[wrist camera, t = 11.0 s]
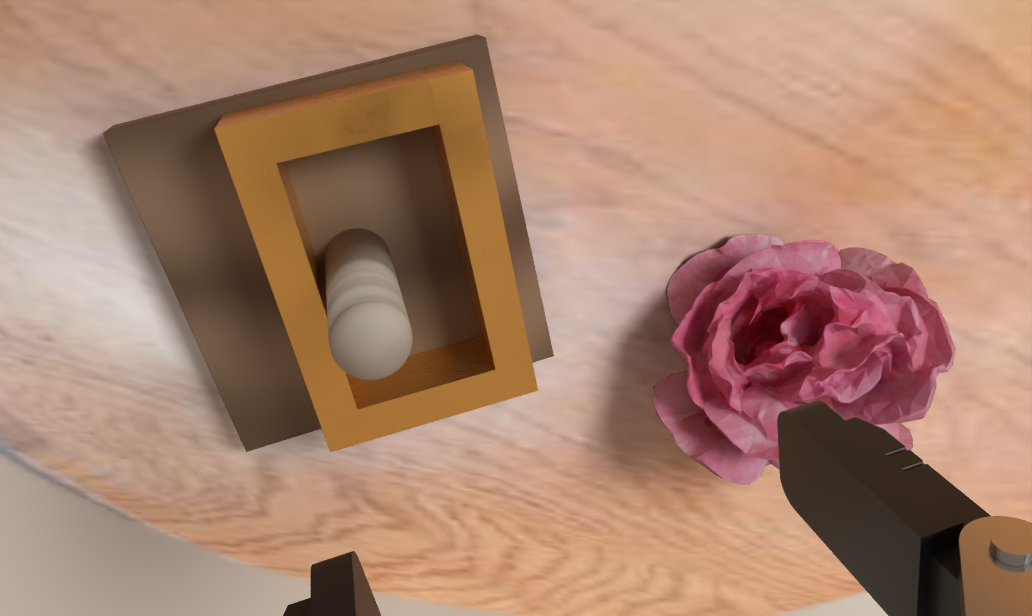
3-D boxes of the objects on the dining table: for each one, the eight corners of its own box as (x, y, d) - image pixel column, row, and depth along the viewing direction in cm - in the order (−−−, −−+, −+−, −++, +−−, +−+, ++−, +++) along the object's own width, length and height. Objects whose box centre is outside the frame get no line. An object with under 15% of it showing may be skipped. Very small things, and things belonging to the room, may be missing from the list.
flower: (609, 262, 37) (735, 187, 27) (780, 266, 40) (942, 200, 31) (635, 507, 34) (782, 515, 25) (813, 489, 38) (999, 490, 28)
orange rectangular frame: (224, 112, 25) (214, 128, 23) (456, 60, 27) (472, 69, 24) (328, 410, 31) (330, 452, 28) (518, 355, 32) (538, 390, 29)
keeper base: (113, 125, 26) (15, 199, 17) (477, 34, 28) (552, 61, 19) (249, 431, 32) (226, 602, 23) (544, 340, 33) (625, 467, 25)
